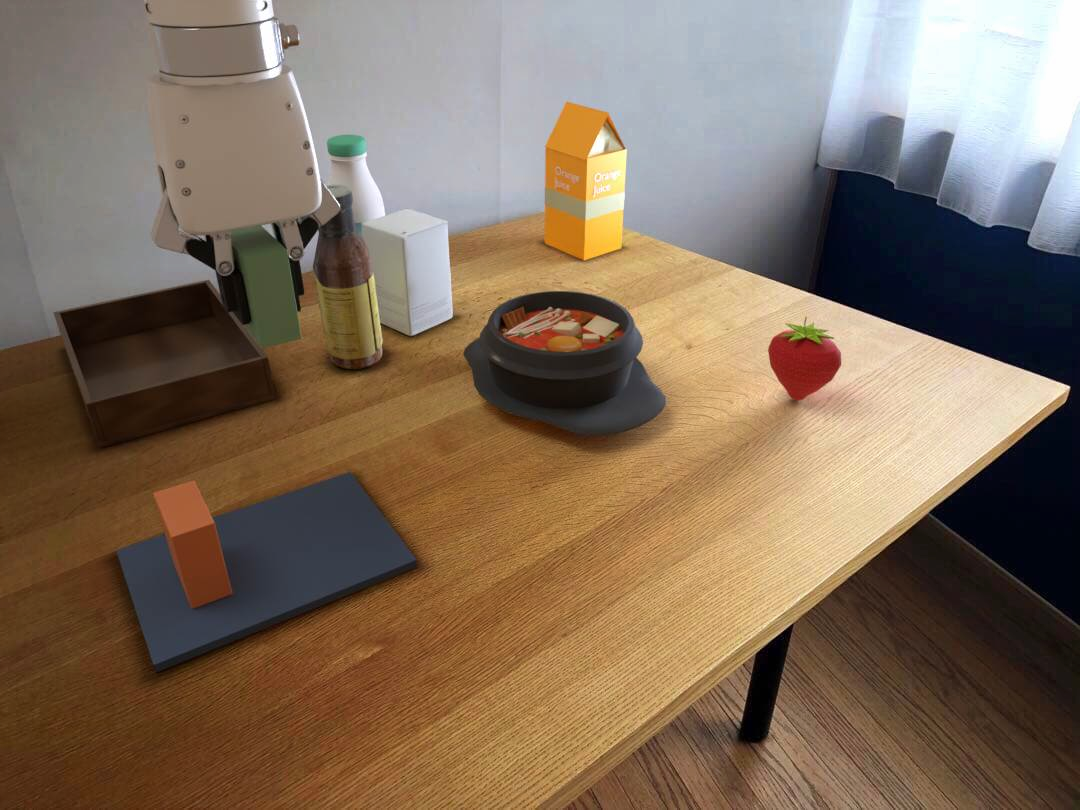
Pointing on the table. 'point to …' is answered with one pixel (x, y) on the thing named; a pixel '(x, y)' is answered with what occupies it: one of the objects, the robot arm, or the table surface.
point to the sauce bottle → (347, 289)
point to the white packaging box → (410, 270)
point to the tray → (162, 361)
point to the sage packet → (266, 286)
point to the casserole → (565, 363)
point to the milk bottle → (355, 177)
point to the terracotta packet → (193, 543)
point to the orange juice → (584, 183)
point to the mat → (266, 568)
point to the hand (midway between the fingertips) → (265, 309)
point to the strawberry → (803, 359)
